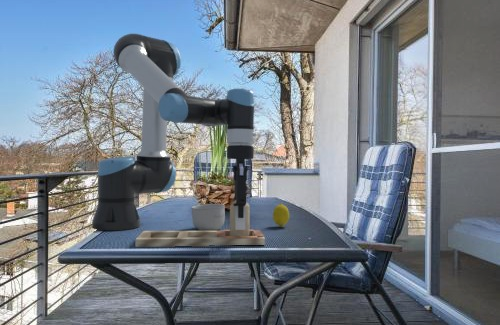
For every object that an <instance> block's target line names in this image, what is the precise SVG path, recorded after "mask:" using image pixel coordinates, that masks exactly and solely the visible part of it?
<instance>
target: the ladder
mask: <svg viewBox="0 0 500 325" xmlns="http://www.w3.org/2000/svg"><path fill="white" fill-rule="evenodd" d="M209 245H265V246H266V236H264V234H263V232H262V230H255V229H249V236H230V229H223V230H215V231H200V230H143V231H142V232H141V233H140V234H139V235H138V236H137V237H136V238H135V245H134V246H135V248H153V247H154V248H157V247H159V248H165V247H166V248H167V247H168V248H169V247H173V248H174V247H175V246H192V247H210V246H209ZM175 248H176V247H175Z"/></svg>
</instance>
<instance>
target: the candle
mask: <svg viewBox="0 0 500 325" xmlns="http://www.w3.org/2000/svg"><path fill="white" fill-rule="evenodd" d="M234 200H235V199H234ZM234 200H233V202H231V204H229V230H230V236H249V230H250V217H251V216H250V213H251V212H250V204H249V203H248V202H247V201H246V205H245V206H246V216H245V230H235V209H236V206H234V205H233V204H234V203H236V200H235V201H234Z"/></svg>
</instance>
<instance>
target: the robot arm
mask: <svg viewBox="0 0 500 325" xmlns="http://www.w3.org/2000/svg"><path fill="white" fill-rule="evenodd" d="M112 54H113V58H114V61H115V62H116V64H117V66H118V67H119V68H120V69H121V70H122V71H123V72H124V73H127V74H130V75H131V76H132V77H133V78H134V79H135V80H136V82H138V83H139V84H140V85H141V86H142V87H143V92H142V95H143V97H142V99H143V100H142V120H141V122H142V123H141V144H140V146H141V147H140V148H141V150H139V152H138V153H137V154H136V158H135V156H118V157H110V158H104V159H102V160H100V161H99V163H98V169H97V188H98V189H97V207H96V210H95V213H94V214H93V218H92V221H91V223H92V224H91V225H92V226H91V228H92V229H94V230H97V231H98V230H99V231H124V230H125V231H126V230H132V229H137V228H140V226H141V219H140V216H139V212H138V209H137V206H136V201H135V200H136V198H135V197H136V195H141V194H159V193H164V192H165V193H166V192H168V191H169V190H170V189H171V188H172V187H173V186H174V183H175V182H176V178H177V168H176V165H175V163H174V162H173V161H171V155H170V154H168V152H167V135H168V134H167V132H168V131H167V130H168V122H170V123H174V124H178V123H180V124H181V123H182V124H195V125H202V126H204V127H212V128H213V127H217V126H218V127H219V126H226V144H227V147H226V158H227V159H228V160H235V165H232V172H233V181H234V197H233V202H234V201H235V200H236V203H234V204H233V205H234V206H236V209H235V230H245V216H246V206H245V205H246V202H247V180H248V171H249V169H248V166H249V165H246V160H253V159H254V156H255V154H254V152H255V148H254V146H253V144H254V138H255V137H256V136H257V133H255V132H254V130H255V129H254V128H255V127H254V126H255V125H254V122H255V121H254V119H255V98H254V96H255V95H254V92H253V91H252V89H247V88H230V89H229V90H227V94H226V98H223V99H210V98H204V97H203V98H202V97H198V96H191V95H188V94H187V93H186V92H185V91H183V90H182V89H181V88H180V87H179V86H178V85H177V84H176V83H175V82H174V76H176V75H177V74H178V73H179V72H180V68H181V65H182V57H181V53H180V51H179V48H178V47H177V46H176V45H175V44H174V43H172V42H170V41H167V40H164V39H159V38H156V37H151V36H146V35H142V34H139V33H128V34H125V35H123V36H121V37H120V38H118V40H117V41H116V42H115V45H114V46H113V53H112Z"/></svg>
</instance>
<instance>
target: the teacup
mask: <svg viewBox="0 0 500 325" xmlns="http://www.w3.org/2000/svg"><path fill="white" fill-rule="evenodd" d="M225 209H226V208H225V204H223V203H222V204H220V203H208V204H207V203H206V204H205V203H204V204H197V205H194V206H193V205H192V206H191V216H192V225H193V226H194V227H195V228H196V229H197V231H219V230H221V228H222V227H223V225H224V224H225V220H226V216H225V215H226V214H225V213H226V212H225V211H226V210H225Z"/></svg>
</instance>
